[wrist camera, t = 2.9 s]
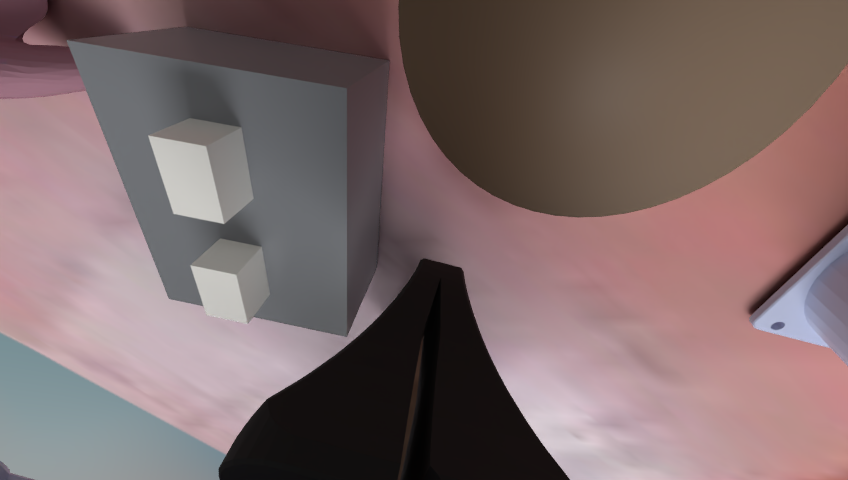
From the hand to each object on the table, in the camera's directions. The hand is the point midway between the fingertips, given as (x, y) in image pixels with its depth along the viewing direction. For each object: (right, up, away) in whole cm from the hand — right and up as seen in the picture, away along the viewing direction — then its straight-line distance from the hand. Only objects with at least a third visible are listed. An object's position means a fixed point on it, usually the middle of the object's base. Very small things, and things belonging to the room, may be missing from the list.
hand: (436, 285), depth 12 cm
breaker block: (-6, +5, +5) cm, 9 cm away
